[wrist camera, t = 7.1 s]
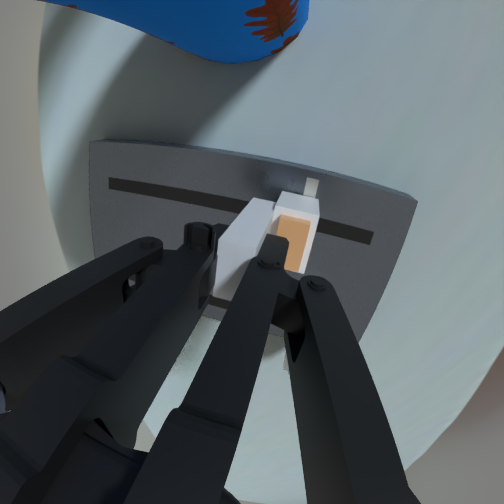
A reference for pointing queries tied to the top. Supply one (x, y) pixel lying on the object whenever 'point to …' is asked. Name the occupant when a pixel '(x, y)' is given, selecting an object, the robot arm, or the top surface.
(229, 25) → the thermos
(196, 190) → the console
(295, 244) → the fader
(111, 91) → the top surface
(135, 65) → the top surface
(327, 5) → the top surface
